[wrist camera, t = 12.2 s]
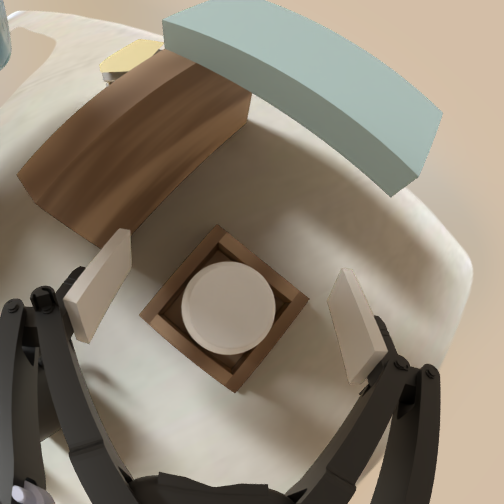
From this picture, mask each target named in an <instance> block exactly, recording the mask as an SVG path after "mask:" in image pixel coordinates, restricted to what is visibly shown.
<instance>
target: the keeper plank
mask: <svg viewBox="0 0 504 504" xmlns="http://www.w3.org/2000/svg"><path fill="white" fill-rule="evenodd" d="M162 25H163V35H164V45H165V49H167V50H169V51H171V52H174V53H176V54H178V55H181V56H183V57H185V58H187V59H189V60H191V61H193V62H196V63H198V64H200V65H202V66H204V67H206V68H208V69H210V70H212V71H214V72H215V73H217V74H219V75H221V76H223V77H225V78H227V79H229V80H230V81H232V82H234V83H236V84H238V85H239V86H241V87H243V88H245V89H246V90H248V91H250V92H251V93H253V94H255V95H256V96H258V97H260V98H261V99H263V100H265V101H266V102H268V103H269V104H271V105H273V106H274V107H276V108H277V109H279V110H280V111H282V112H283V113H285V114H286V115H288V116H289V117H291V118H292V119H294V120H295V121H297V122H298V123H299V124H301V125H302V126H304V127H305V128H307V129H308V130H309V131H311V132H312V133H314V134H315V135H316V136H318V137H319V138H320V139H322V140H323V141H324V142H326V143H327V144H328V145H330V146H331V147H332V148H333V149H335V150H336V151H337V152H339V153H340V154H341V155H342V156H344V157H345V158H346V159H347V160H349V161H350V162H351V163H352V164H353V165H355V166H356V167H357V168H358V169H359V170H361V171H362V172H363V173H364V174H365V175H366V176H368V177H369V178H370V179H371V180H372V181H373V182H374V183H375V184H377V185H378V186H379V187H380V188H381V189H382V190H383V191H384V192H385V193H386V194H388V195H389V196H390V197H392V196H393V195H395V194H396V193H397V192H399V191H400V190H401V189H403V188H404V187H406V186H407V185H408V184H410V183H411V182H412V181H414V180H415V179H416V178H418V177H419V175H420V173H421V170H422V168H423V166H424V163H425V161H426V158H427V156H428V153H429V151H430V148H431V145H432V143H433V140H434V138H435V135H436V132H437V129H438V126H439V124H440V121H441V118H442V115H443V113H442V111H440V110H439V109H438V108H437V107H436V106H435V105H434V104H433V103H432V102H431V101H430V100H429V99H428V98H427V97H425V96H424V95H423V94H422V93H421V92H420V91H418V90H417V89H416V88H415V87H414V86H412V85H411V84H410V83H409V82H408V81H407V80H405V79H404V78H403V77H401V76H400V75H399V74H398V73H396V72H395V71H394V70H392V69H391V68H390V67H388V66H387V65H386V64H384V63H383V62H381V61H380V60H378V59H377V58H375V57H374V56H373V55H371V54H370V53H368V52H367V51H365V50H364V49H362V48H361V47H359V46H357V45H356V44H354V43H352V42H351V41H349V40H347V39H346V38H344V37H342V36H341V35H339V34H337V33H335V32H333V31H332V30H330V29H328V28H326V27H324V26H322V25H320V24H318V23H316V22H314V21H312V20H310V19H308V18H306V17H304V16H302V15H299V14H297V13H295V12H293V11H291V10H288V9H286V8H283V7H281V6H279V5H276V4H273V3H271V2H268V1H265V0H209V1H206V2H204V3H201V4H198V5H196V6H193V7H190V8H188V9H185V10H183V11H181V12H178V13H176V14H174V15H171V16H169V17H167V18H165V19H163V20H162Z"/></svg>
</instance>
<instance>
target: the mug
mask: <svg viewBox="0 0 504 504" xmlns="http://www.w3.org/2000/svg"><path fill="white" fill-rule="evenodd" d="M37 399H38V422H39V434H40V442H42V441H43V440H45V439H46V438H48V437H49V436H51V435H52V434H54V433H55V432H57V431H58V430H59V429H61V425H60V422H59V419H58V416H57V413H56V410H55V407H54V404H53V400H52V397H51V393H50V389H49V386H48V382H47V378H46V373H45V369H44V364H43V360H42V354H41V349H40V347H39V357H38V380H37Z"/></svg>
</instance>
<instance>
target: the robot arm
mask: <svg viewBox="0 0 504 504" xmlns="http://www.w3.org/2000/svg"><path fill="white" fill-rule="evenodd" d="M10 55H11V38H10V32H9V26H8V21H7V16H6V11H5V6H4V2H3V0H0V70H1V69H2V68H3V67H5V65H6V64H7V63H8V61H9V59H10ZM131 268H132V259H131V234H130V230H127V229H121V228H119V229H118V230H117V231H116V233H115V234H114V235H113V236H112V237H111V238H110V239H109V241H108V242H107V243H106V244H105V245H104V247H103V248H102V249H101V250H100V251H99V253H98V254H97V255H96V256H95V257H94V259H93V260H92V261H91V262H90V264H89V265H88V266H87V267H86V268H85V267H81V266H80V267H78V268H77V269H75V270H73V271H72V273H71V274H70V275H69V276H68V278H67V279H66V280H65V281H64V283H63V284H62V285H61V287H60V288H59V289H58V290H57V292H56V293H55V292H54V290H53V288H51V287H49V286H41V287H38V288H36V289H35V290H34V291H33V292H32V294H31V296H30V300H31V302H32V305H33V307H25V306H24V304H23V302H22V300H20V299H11V300H9V301H8V302H7V303H6V304H5V305H4V307H3V309H2V313H1V317H0V504H55V502H54V500H53V498H52V496H51V495H50V494H49V493H48V492H47V491H46V480H45V472H44V465H43V459H42V452H41V444H40V434H39V422H38V399H37V380H38V357H39V347H40V349H41V354H42V360H43V364H44V369H45V373H46V378H47V382H48V386H49V389H50V393H51V397H52V400H53V404H54V407H55V410H56V413H57V416H58V419H59V422H60V425H61V428H62V431H63V433H64V436H65V439H66V441H67V444H68V446H69V450H70V451H69V457H70V460H71V463H72V465H73V467H74V469H75V472H76V474H77V476H78V478H79V480H80V482H81V484H82V486H83V488H84V490H85V491H86V493H87V495H88V497H89V499H90V500H91V502H92V504H348V502H349V501H350V499H351V498H352V496H353V494H354V493H355V491H356V486H355V483H356V481H357V479H358V478H359V476H360V474H361V473H362V471H363V469H364V468H365V466H366V464H367V463H368V461H369V459H370V457H371V456H372V454H373V452H374V450H375V448H376V447H377V445H378V443H379V441H380V439H381V437H382V435H383V433H384V431H385V429H386V427H387V425H388V423H389V421H390V418H391V416H392V414H393V416H392V421H391V427H390V432H389V437H388V442H387V446H386V451H385V455H384V459H383V463H382V467H381V471H380V474H379V478H378V481H377V485H376V488H375V491H374V494H373V497H372V501H371V503H370V504H429V502H430V498H431V493H432V487H433V482H434V476H435V470H436V462H437V454H438V443H439V430H440V374H439V372H438V370H437V369H436V368H435V367H434V366H433V365H431V364H425V365H424V366H423V367H422V368H421V369H418V368H414V367H411V366H410V365H409V362H408V361H407V360H406V359H405V358H404V357H402V356H400V355H398V354H397V352H396V349H395V347H394V344H393V342H392V340H391V337H390V336H389V332H388V331H387V328H386V326H385V323H384V322H383V321H382V320H381V318H380V317H379V316H373V313H372V311H371V309H370V306H369V304H368V302H367V300H366V297H365V295H364V293H363V291H362V289H361V286H360V284H359V282H358V280H357V278H356V276H355V274H354V271H353V269H347V268H342V269H341V271H340V273H339V275H338V278H337V280H336V282H335V284H334V287H333V289H332V291H331V293H330V295H329V297H328V300H327V303H328V306H329V310H330V313H331V317H332V320H333V324H334V327H335V331H336V335H337V339H338V342H339V346H340V350H341V354H342V358H343V362H344V366H345V370H346V374H347V378H348V382H349V384H362V383H363V382H364V380H365V379H366V378H367V379H368V382H369V384H368V385H367V386H366V387H365V388H364V389H363V390H362V391H361V392H360V393H359V395H361V396H360V397H359V399H358V401H357V402H356V404H355V405H354V407H353V409H352V410H351V412H350V413H349V415H348V416H347V418H346V420H345V421H344V423H343V424H342V426H341V427H340V428H339V430H338V431H337V433H336V434H335V436H334V437H333V439H332V440H331V441H330V443H329V444H328V445H327V447H326V448H325V449H324V451H323V452H322V453H321V455H320V456H319V457H318V459H317V460H316V461H315V463H314V464H313V465H312V466H311V468H310V469H309V470H308V471H307V472H306V474H305V475H304V476H303V477H302V478H301V479H300V481H299V482H297V483H296V484H295V485H294V486H293V487H292V488H290V489H289V490H288V491H287V492H286V493H285V495H284V494H282V493H280V492H278V491H275V490H272V489H269V488H268V484H236V485H229V486H221V487H211V486H208V485H205V484H202V483H199V482H197V481H194V480H192V479H189V478H187V477H182V476H177V475H172V474H167V473H162V472H159V475H152V476H145V477H141V478H138V479H135V480H134V479H133V478H132V476H131V474H130V473H129V471H128V470H127V468H126V466H125V465H124V463H123V462H122V461H121V459H120V457H119V456H118V454H117V452H116V450H115V448H114V446H113V444H112V442H111V440H110V439H109V437H108V434H107V432H106V430H105V428H104V426H103V424H102V422H101V420H100V417H99V415H98V413H97V411H96V408H95V406H94V404H93V401H92V399H91V396H90V394H89V391H88V388H87V386H86V383H85V380H84V378H83V375H82V372H81V369H80V366H79V363H78V360H77V357H76V353H75V350H74V347H73V343H72V340H71V336H72V335H73V333H74V334H75V337H76V339H77V340H79V341H82V342H85V343H88V344H89V343H90V341H91V340H92V338H93V336H94V334H95V332H96V330H97V328H98V326H99V324H100V322H101V320H102V319H103V317H104V315H105V313H106V311H107V309H108V308H109V306H110V304H111V302H112V300H113V299H114V297H115V295H116V293H117V292H118V290H119V288H120V287H121V285H122V283H123V282H124V280H125V278H126V277H127V275H128V273H129V272H130V270H131Z"/></svg>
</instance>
